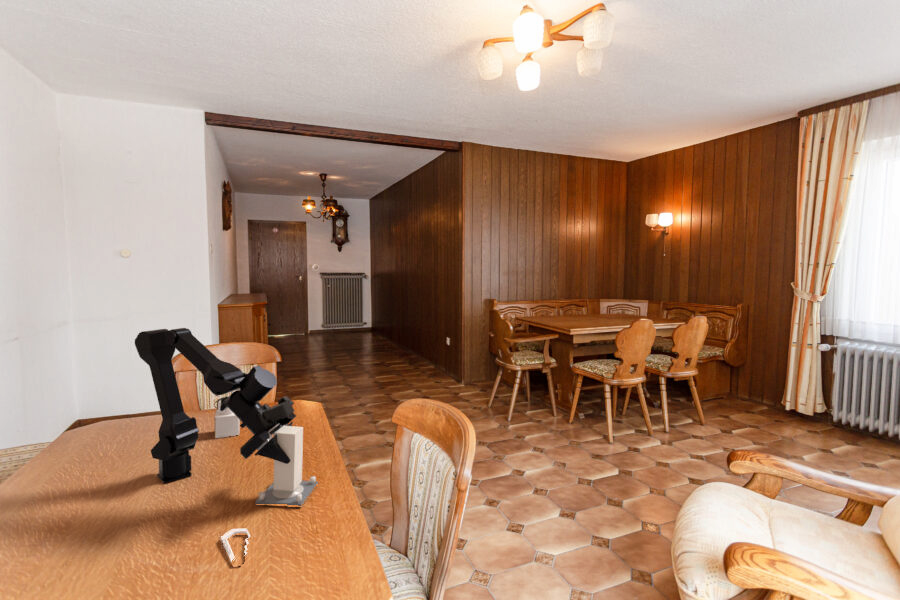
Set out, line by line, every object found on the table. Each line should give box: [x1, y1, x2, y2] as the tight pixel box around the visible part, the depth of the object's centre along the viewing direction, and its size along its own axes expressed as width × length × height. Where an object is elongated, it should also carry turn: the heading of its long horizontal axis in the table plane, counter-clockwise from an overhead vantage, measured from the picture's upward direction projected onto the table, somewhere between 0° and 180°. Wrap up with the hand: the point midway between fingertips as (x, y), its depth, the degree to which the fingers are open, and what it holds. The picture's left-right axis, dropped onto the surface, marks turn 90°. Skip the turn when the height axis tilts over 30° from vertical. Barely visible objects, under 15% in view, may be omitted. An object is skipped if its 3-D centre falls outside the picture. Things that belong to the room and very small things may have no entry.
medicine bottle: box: [214, 396, 240, 439], centre depth 147 cm, size 7×7×12 cm
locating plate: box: [255, 475, 319, 506], centre depth 110 cm, size 11×11×2 cm
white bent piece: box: [220, 527, 251, 562], centre depth 89 cm, size 13×5×2 cm, turn 38°
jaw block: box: [273, 425, 304, 491], centre depth 109 cm, size 5×5×14 cm
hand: (293, 457), depth 109 cm, fingers closed on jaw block, 5 cm apart
